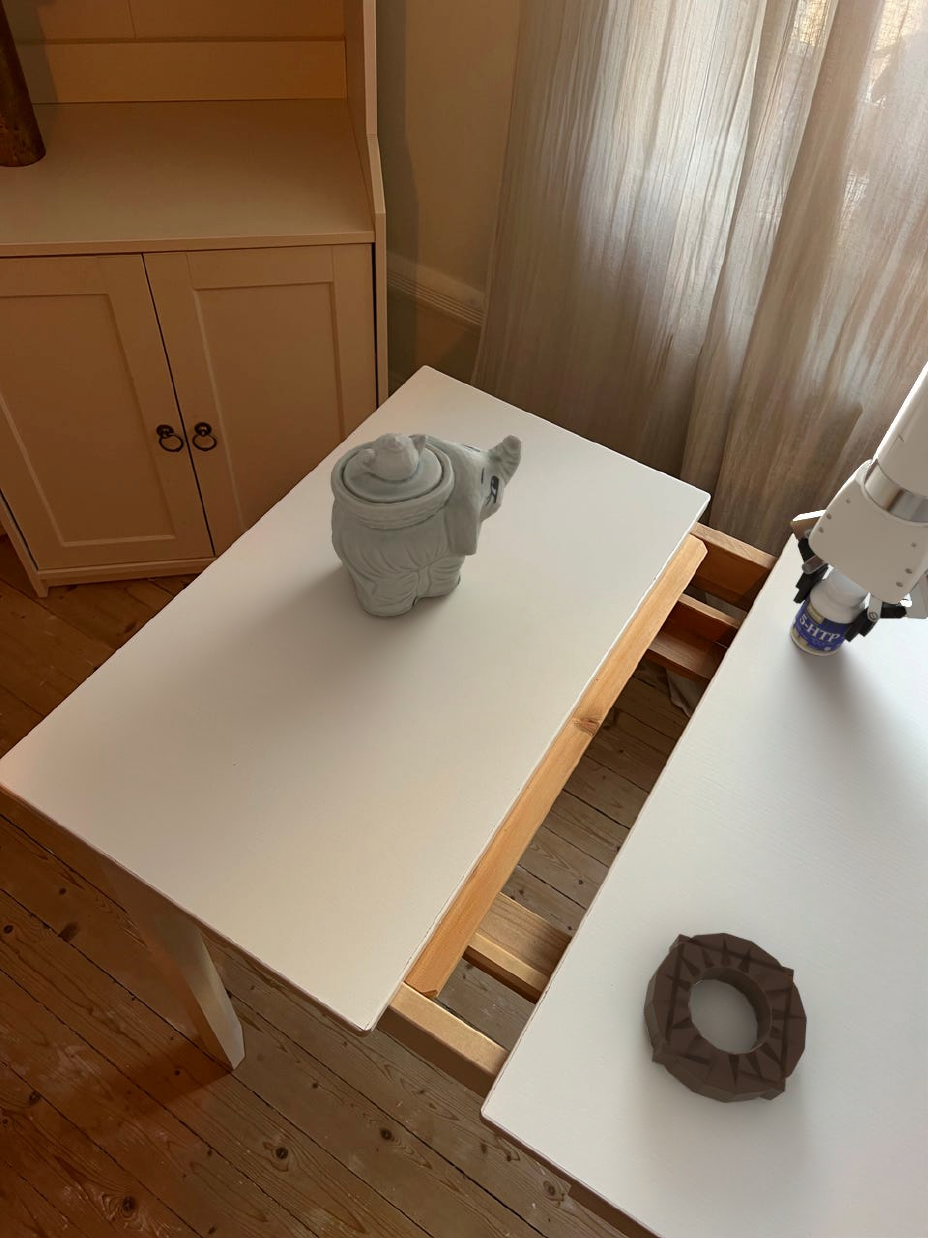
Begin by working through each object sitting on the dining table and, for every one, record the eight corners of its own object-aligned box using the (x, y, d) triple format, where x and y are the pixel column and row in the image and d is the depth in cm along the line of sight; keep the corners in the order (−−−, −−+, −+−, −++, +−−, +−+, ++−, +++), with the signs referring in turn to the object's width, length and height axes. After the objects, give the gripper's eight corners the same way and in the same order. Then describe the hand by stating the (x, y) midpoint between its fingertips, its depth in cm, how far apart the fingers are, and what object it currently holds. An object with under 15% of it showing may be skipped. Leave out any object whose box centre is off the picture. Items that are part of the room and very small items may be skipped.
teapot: (508, 533, 103) (533, 394, 88) (484, 644, 93) (508, 509, 79) (358, 504, 103) (357, 361, 89) (320, 611, 94) (313, 472, 79)
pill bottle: (780, 639, 97) (813, 583, 90) (800, 607, 100) (833, 551, 93) (829, 666, 95) (866, 611, 88) (848, 633, 98) (885, 577, 91)
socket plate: (657, 927, 78) (666, 914, 75) (796, 971, 76) (810, 959, 74) (632, 1073, 71) (642, 1063, 68) (785, 1123, 70) (800, 1115, 67)
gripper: (1025, 520, 79) (923, 648, 93) (850, 410, 86) (780, 546, 100) (982, 564, 75) (882, 690, 90) (803, 446, 82) (737, 581, 96)
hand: (829, 613), depth 95 cm, fingers closed on pill bottle, 5 cm apart
